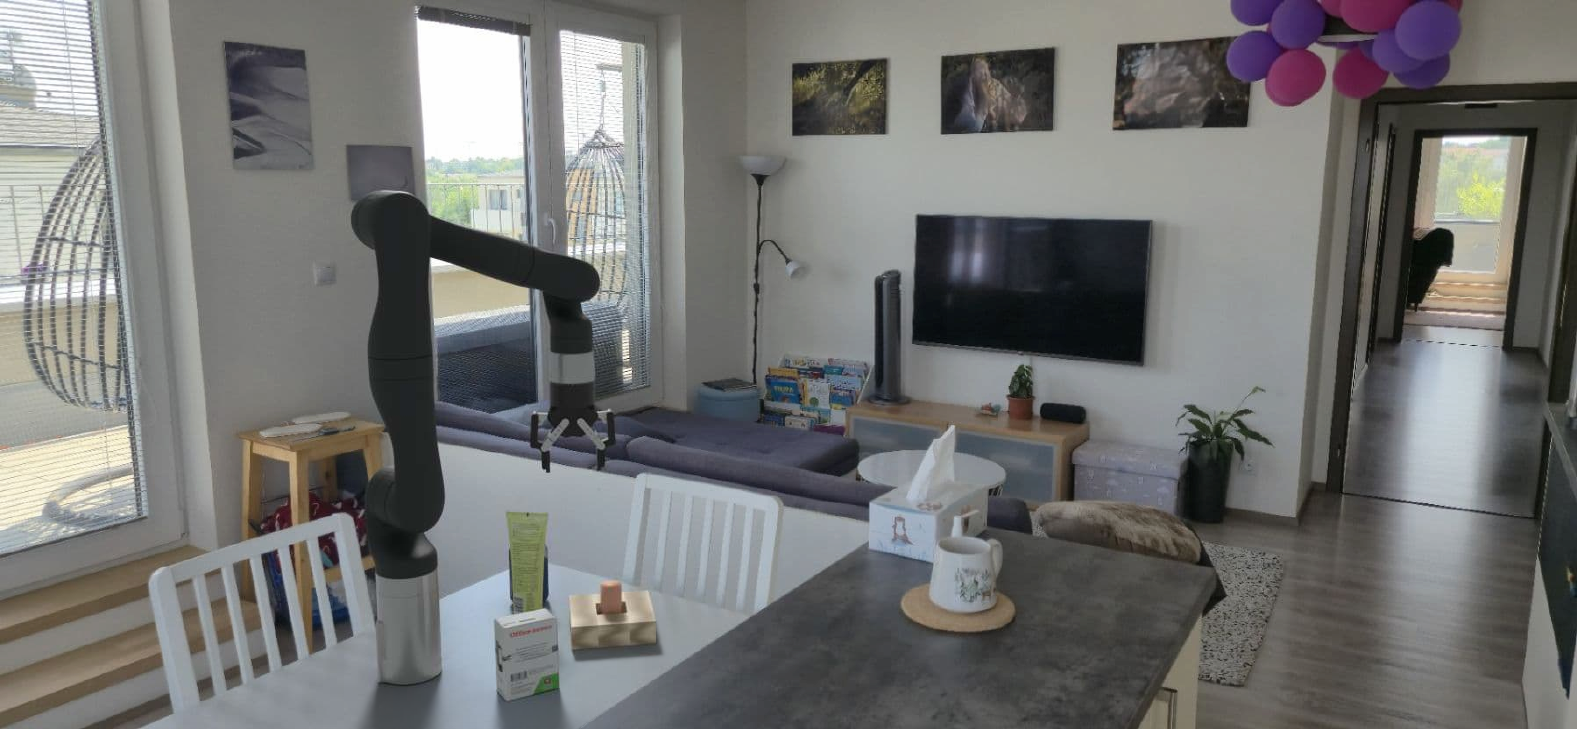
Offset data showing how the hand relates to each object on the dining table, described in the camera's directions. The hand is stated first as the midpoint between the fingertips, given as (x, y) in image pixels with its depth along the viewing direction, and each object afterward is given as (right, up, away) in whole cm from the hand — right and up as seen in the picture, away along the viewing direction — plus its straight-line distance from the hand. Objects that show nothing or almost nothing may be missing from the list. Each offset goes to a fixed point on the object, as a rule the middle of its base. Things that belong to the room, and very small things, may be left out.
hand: (573, 470), depth 190 cm
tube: (-9, -27, +8) cm, 30 cm away
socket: (+6, -28, +3) cm, 29 cm away
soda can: (-11, -26, +15) cm, 32 cm away
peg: (+6, -28, +3) cm, 28 cm away
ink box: (-3, -32, -19) cm, 37 cm away
